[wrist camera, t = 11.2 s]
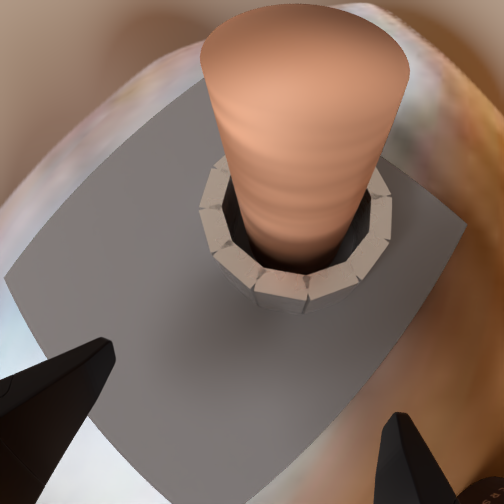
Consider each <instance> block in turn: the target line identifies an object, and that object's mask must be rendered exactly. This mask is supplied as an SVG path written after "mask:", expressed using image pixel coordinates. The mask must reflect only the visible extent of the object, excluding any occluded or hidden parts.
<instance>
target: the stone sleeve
mask: <svg viewBox="0 0 504 504" xmlns="http://www.w3.org/2000/svg"><path fill="white" fill-rule="evenodd" d="M213 166H214V168H211V171H210V174H209V177H208V180H207V183H206V186H205V190H204V193H203V196H202V199H201V202H200V205H199V208H200V210H199V213H200V217H201V220H202V224H203V227H204V231H205V235H206V238H207V242H208V245H209V249H210V252H211V254H212V256H213V257H214V259H215V260H216V262H217V264H218V265H219V267H220V268H221V270H222V271H223V273H224V275H225V276H226V278H227V279H228V280H229V281H230V282H231V283H232V284H233V285H234V286H235V287H236V288H238V289H239V290H240V291H241V292H242V293H243V294H244V295H245V296H247V297H248V298H249V299H250V300H251V301H252V302H253V303H255V304H256V305H257V306H258V305H260V307H261V308H266V309H271V310H276V311H281V312H287V313H292V314H298V315H301V313H302V311H303V314H304V315H305V314H307V313H310V312H313V311H316V310H318V309H321V308H324V307H327V306H329V305H332V304H335V303H337V302H340V301H342V300H343V299H345V298H346V296H347V295H348V294H349V293H350V292H351V291H352V290H353V289H354V288H355V287H356V286H357V285H358V284H359V283H360V282H361V281H362V280H363V278H364V277H365V276H366V274H367V273H368V272H369V270H370V269H371V268H372V266H373V265H374V264H375V262H376V261H377V260H378V258H379V257H380V255H381V254H382V253H383V251H384V250H385V249H386V247H387V246H388V244H389V241H390V240H391V219H392V197H390V196H391V193H390V191H389V189H388V187H387V186H386V184H385V182H384V180H383V178H382V177H381V175H380V173H379V171H378V170H377V168H376V167H375V169H374V172H373V174H372V176H371V179H370V181H369V183H368V186H367V188H366V190H365V193H364V195H363V197H362V200H361V202H360V204H359V206H358V209H357V211H356V213H355V215H354V217H353V220H352V222H351V225H352V227H353V230H354V238H353V247H352V254H351V256H350V257H349V258H348V259H347V261H346V262H343V263H340V264H338V265H335V266H332V267H329V268H326V269H324V270H321V271H318V272H315V273H312V274H309V275H301V274H295V273H289V272H284V271H278V270H273V269H267V268H263V267H262V266H261V265H260V264H258V263H257V262H256V261H255V260H254V259H253V258H251V257H250V256H249V255H248V254H247V253H245V252H244V251H243V250H242V249H241V248H239V247H238V246H237V245H236V244H235V241H234V238H235V234H236V230H237V226H238V222H239V218H240V214H241V211H240V207H239V204H238V200H237V196H236V192H235V189H234V185H233V181H232V178H231V174H230V170H229V167H228V163H227V159H226V156H225V155H224V156H223V157H222V158H221V159H220V160H219V161H218V162H217V163H216V164H214V165H213Z"/></svg>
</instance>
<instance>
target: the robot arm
mask: <svg viewBox="0 0 504 504" xmlns="http://www.w3.org/2000/svg"><path fill="white" fill-rule="evenodd" d="M115 362H116V355H115V351H114V346H113V342H112V341H111V340H109V339H107V338H104V337H98V338H96V339H94V340H92V341H89V342H87V343H85V344H83V345H80V346H78V347H76V348H73V349H71V350H69V351H67V352H64V353H62V354H60V355H57V356H55V357H53V358H50V359H48V360H46V361H44V362H41V363H39V364H37V365H34V366H32V367H30V368H27V369H25V370H23V371H20V372H18V373H16V374H14V375H11V376H8V377H6V378H4V379H1V380H0V504H36V502H37V500H38V498H39V496H40V495H41V493H42V491H43V489H44V488H45V485H46V484H47V482H48V480H49V478H50V477H51V475H52V473H53V472H54V470H55V468H56V466H57V465H58V463H59V461H60V460H61V458H62V456H63V455H64V453H65V451H66V450H67V448H68V446H69V445H70V443H71V441H72V440H73V438H74V436H75V435H76V433H77V432H78V430H79V428H80V427H81V425H82V423H83V422H84V420H85V419H86V417H87V415H88V414H89V412H90V411H91V409H92V408H93V406H94V404H95V403H96V401H97V399H98V397H99V396H100V394H101V392H102V389H103V387H104V385H105V383H106V381H107V379H108V377H109V375H110V373H111V371H112V369H113V367H114V365H115ZM373 504H461V503H460V502H459V500H458V498H456V495H455V493H454V491H453V489H452V488H451V486H450V484H449V482H448V480H447V479H446V477H445V475H444V474H443V472H442V470H441V468H440V467H439V465H438V463H437V461H436V460H435V458H434V456H433V455H432V453H431V451H430V450H429V448H428V446H427V445H426V443H425V441H424V440H423V438H422V436H421V435H420V433H419V431H418V430H417V428H416V426H415V425H414V423H413V421H412V420H411V418H410V417H409V415H408V414H407V413H401V412H395V413H394V414H393V415H392V416H391V418H390V419H389V420H388V422H387V423H386V424H385V426H384V428H383V430H382V435H381V443H380V450H379V456H378V462H377V468H376V476H375V490H374V503H373Z"/></svg>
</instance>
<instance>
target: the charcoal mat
mask: <svg viewBox="0 0 504 504" xmlns="http://www.w3.org/2000/svg"><path fill="white" fill-rule="evenodd" d="M224 155H225V152H224V148H223V144H222V141H221V137H220V133H219V130H218V126H217V122H216V119H215V115H214V111H213V108H212V104H211V100H210V96H209V93H208V89H207V85H206V82H205V78H203V79H202V80H200V81H199V82H198V83H196V84H195V85H193V86H192V87H191V88H189V89H188V90H187V91H185V92H184V93H183V94H181V95H180V96H179V97H178V98H176V99H175V100H174V101H172V102H171V103H170V104H169V105H167V106H166V107H165V108H164V109H162V110H161V111H160V112H159V113H157V114H156V115H155V116H154V117H153V118H151V119H150V120H149V121H148V122H147V123H145V124H144V125H143V126H142V127H141V128H140V129H138V130H137V131H136V132H135V133H134V134H133V135H132V136H130V137H129V138H128V139H127V140H126V141H125V142H124V143H123V144H122V145H121V146H119V147H118V148H117V149H116V150H115V151H114V152H113V153H112V154H111V155H110V156H109V157H108V158H107V159H106V160H105V161H104V162H103V163H102V164H100V165H99V166H98V167H97V168H96V169H95V170H94V171H93V172H92V173H91V174H90V175H89V176H88V177H87V179H86V180H85V181H84V182H83V183H82V184H81V185H80V186H79V187H78V188H77V189H76V190H75V191H74V192H73V193H72V194H71V195H70V196H69V198H68V199H67V200H66V201H65V202H64V203H63V204H62V205H61V206H60V208H59V209H58V210H57V211H56V212H55V213H54V214H53V216H52V217H51V218H50V219H49V220H48V221H47V223H46V224H45V225H44V226H43V227H42V229H41V230H40V231H39V232H38V233H37V235H36V236H35V237H34V238H33V240H32V241H31V242H30V243H29V245H28V246H27V247H26V249H25V250H24V251H23V252H22V254H21V255H20V256H19V258H18V259H17V260H16V262H15V263H14V264H13V266H12V267H11V269H10V270H9V271H8V273H7V274H6V276H5V277H4V279H5V281H6V284H7V286H8V288H9V290H10V292H11V294H12V296H13V298H14V300H15V302H16V304H17V306H18V308H19V310H20V312H21V314H22V316H23V318H24V320H25V321H26V323H27V325H28V327H29V329H30V331H31V332H32V334H33V336H34V338H35V339H36V341H37V343H38V344H39V346H40V348H41V349H42V351H43V353H44V354H45V356H46V357H47V359H50V358H53V357H55V356H57V355H60V354H62V353H64V352H67V351H69V350H71V349H73V348H76V347H78V346H80V345H83V344H85V343H87V342H89V341H92V340H94V339H96V338H98V337H104V338H107V339H109V340H111V341H112V342H113V346H114V351H115V355H116V362H115V365H114V367H113V369H112V371H111V373H110V375H109V377H108V379H107V381H106V383H105V385H104V387H103V389H102V392H101V394H100V396H99V397H98V399H97V401H96V403H95V404H94V406H93V408H92V409H91V411H90V412H89V414H88V417H89V418H90V419H91V420H92V422H93V423H94V424H95V425H96V427H97V428H98V429H99V430H100V431H101V432H102V434H103V435H104V436H105V437H106V438H107V439H108V441H109V442H110V443H111V444H112V445H113V446H114V447H115V448H116V450H117V451H118V452H119V453H120V454H121V455H122V456H123V457H124V458H125V459H126V460H127V461H128V462H129V463H130V465H131V466H132V467H133V468H134V469H135V470H136V471H137V472H138V473H139V474H140V475H141V476H142V477H143V478H144V479H146V480H147V481H148V482H149V483H150V484H151V485H152V486H153V487H154V488H155V489H156V490H157V491H158V492H159V493H160V494H162V495H163V496H164V497H165V498H166V499H167V500H168V501H170V502H171V503H172V504H245V503H246V502H247V501H248V500H250V499H251V498H252V497H253V496H254V495H256V494H257V493H258V492H259V491H260V490H262V489H263V488H264V487H265V486H266V485H267V484H269V483H270V482H271V481H272V480H273V479H274V478H275V477H277V476H278V475H279V474H280V473H281V472H282V471H283V470H284V469H285V468H286V467H287V466H289V465H290V464H291V463H292V462H293V461H294V460H295V459H296V458H297V457H298V456H299V455H300V454H301V453H302V452H303V451H304V450H305V449H306V448H307V447H308V446H309V445H310V444H311V443H312V442H313V441H314V440H315V439H316V438H317V437H318V436H319V435H320V434H321V433H322V432H323V431H324V430H325V429H326V428H327V427H328V426H329V424H330V423H331V422H332V421H333V420H334V419H335V418H336V417H337V416H338V415H339V413H340V412H341V411H342V410H343V409H344V408H345V407H346V406H347V404H348V403H349V402H350V401H351V400H352V399H353V397H354V396H355V395H356V394H357V393H358V392H359V390H360V389H361V388H362V387H363V385H364V384H365V383H366V382H367V381H368V379H369V378H370V377H371V376H372V374H373V373H374V372H375V371H376V369H377V368H378V367H379V365H380V364H381V363H382V361H383V360H384V359H385V357H386V356H387V355H388V353H389V352H390V351H391V349H392V348H393V347H394V345H395V344H396V343H397V341H398V340H399V338H400V337H401V335H402V334H403V333H404V331H405V330H406V328H407V327H408V325H409V324H410V322H411V321H412V319H413V318H414V316H415V315H416V313H417V312H418V310H419V309H420V307H421V306H422V304H423V303H424V301H425V299H426V298H427V296H428V295H429V293H430V291H431V290H432V288H433V287H434V285H435V283H436V282H437V280H438V278H439V276H440V275H441V273H442V271H443V270H444V268H445V266H446V264H447V263H448V261H449V259H450V257H451V255H452V253H453V252H454V250H455V248H456V246H457V244H458V242H459V240H460V238H461V236H462V234H463V232H464V230H465V228H466V226H467V224H466V223H465V222H464V221H463V220H462V219H461V218H460V217H458V216H457V215H456V214H455V213H454V212H453V211H451V210H450V209H449V208H448V207H447V206H446V205H444V204H443V203H442V202H441V201H440V200H438V199H437V198H436V197H435V196H433V195H432V194H431V193H430V192H428V191H427V190H426V189H425V188H423V187H422V186H421V185H419V184H418V183H417V182H416V181H414V180H413V179H412V178H410V177H409V176H408V175H406V174H405V173H404V172H402V171H401V170H400V169H398V168H397V167H395V166H394V165H393V164H391V163H390V162H388V161H387V160H386V159H384V158H383V157H381V156H380V157H379V160H378V162H377V164H376V168H377V170H378V171H379V173H380V175H381V177H382V178H383V180H384V182H385V184H386V186H387V187H388V189H389V191H390V193H391V196H390V197H392V219H391V240H390V241H389V244H388V246H387V247H386V249H385V250H384V251H383V253H382V254H381V255H380V257H379V258H378V260H377V261H376V262H375V264H374V265H373V266H372V268H371V269H370V270H369V272H368V273H367V274H366V276H365V277H364V278H363V280H362V281H361V282H360V283H359V284H358V285H357V286H356V287H355V288H354V289H353V290H352V291H351V292H350V293H349V294H348V295H347V296H346V298H345V299H343V300H342V301H340V302H337V303H335V304H332V305H329V306H327V307H324V308H321V309H318V310H316V311H313V312H310V313H307V314H305V315H304V314H303V311H302V313H301V315H298V314H292V313H287V312H281V311H276V310H271V309H266V308H261V307H260V305H258V306H257V305H256V304H255V303H253V302H252V301H251V300H250V299H249V298H248V297H247V296H245V295H244V294H243V293H242V292H241V291H240V290H239V289H238V288H236V287H235V286H234V285H233V284H232V283H231V282H230V281H229V280H228V279H227V278H226V276H225V275H224V273H223V271H222V270H221V268H220V267H219V265H218V264H217V262H216V260H215V259H214V257H213V256H212V254H211V252H210V249H209V245H208V242H207V238H206V235H205V231H204V227H203V224H202V220H201V217H200V213H199V210H200V208H199V205H200V202H201V199H202V196H203V193H204V190H205V186H206V183H207V180H208V177H209V174H210V171H211V168H214V166H213V165H214V164H216V163H217V162H218V161H219V160H220V159H221V158H222V157H223V156H224ZM353 238H354V230H353V227H352V225H351V224H350V226H349V228H348V230H347V233H346V235H345V237H344V239H343V241H342V243H341V245H340V247H339V250H338V252H337V254H336V256H335V258H334V260H333V261H332V262H331V264H330V265H329V266H328V267H327V268H329V267H332V266H335V265H338V264H340V263H343V262H346V261H347V259H348V258H349V257H350V256H351V254H352V247H353ZM234 241H235V244H236V245H237V246H238V247H239V248H241V249H242V250H243V251H244V252H245V253H247V254H248V255H249V256H250V257H251V258H253V259H254V260H255V261H256V259H255V257H254V256H253V253H252V251H251V248H250V244H249V240H248V237H247V233H246V229H245V226H244V222H243V218H242V215H241V214H240V218H239V222H238V226H237V230H236V234H235V238H234ZM256 262H257V261H256ZM257 263H258V262H257ZM258 264H259V263H258Z"/></svg>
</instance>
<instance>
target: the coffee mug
mask: <svg viewBox="0 0 504 504" xmlns="http://www.w3.org/2000/svg"><path fill="white" fill-rule="evenodd" d="M457 498H458V500H459V502H460V503H461V504H504V478H500V477H488V478H485V479H482V480H480V481H478V482H476V483H474V484H473V485H471V486H470V487H468V488H467V489H466V490H464V491H463V492H462V493H461V494H460V495H459V496H458V497H457Z"/></svg>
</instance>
